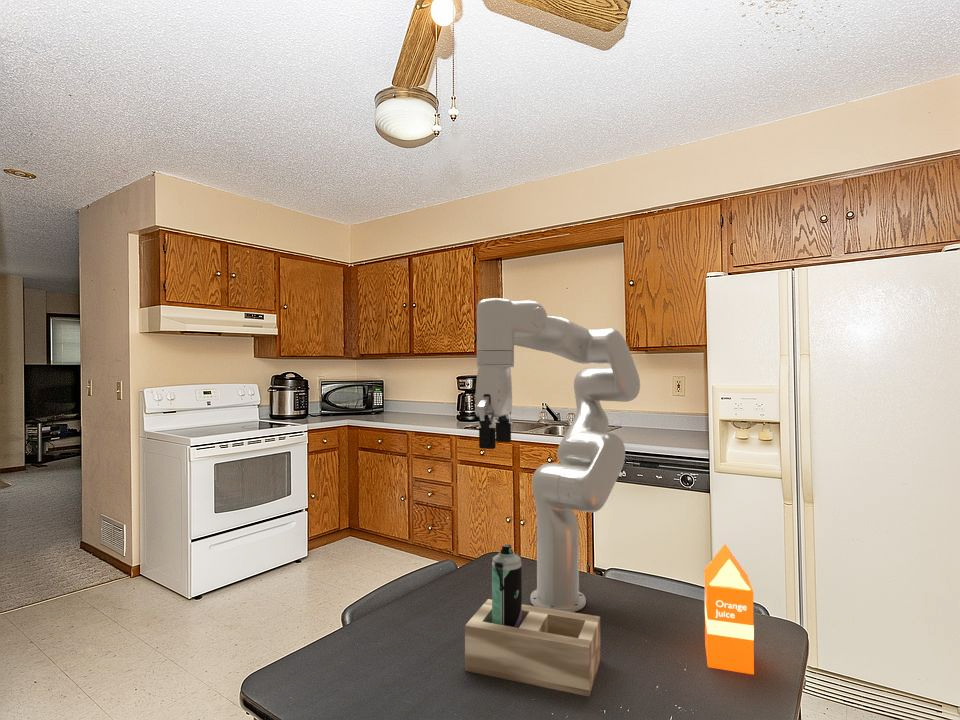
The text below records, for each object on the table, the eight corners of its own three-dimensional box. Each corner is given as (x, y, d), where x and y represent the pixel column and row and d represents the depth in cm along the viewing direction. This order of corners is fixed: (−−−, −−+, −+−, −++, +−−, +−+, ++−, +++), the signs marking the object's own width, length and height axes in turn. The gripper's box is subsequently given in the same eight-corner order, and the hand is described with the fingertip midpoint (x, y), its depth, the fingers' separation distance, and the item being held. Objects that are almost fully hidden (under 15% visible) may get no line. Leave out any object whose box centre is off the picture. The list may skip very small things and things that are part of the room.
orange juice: (748, 650, 106) (747, 545, 106) (754, 674, 97) (754, 560, 97) (704, 643, 108) (703, 540, 108) (706, 667, 100) (706, 555, 100)
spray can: (519, 663, 99) (519, 551, 100) (489, 660, 100) (489, 549, 101) (523, 648, 105) (523, 541, 105) (495, 645, 106) (494, 539, 106)
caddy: (488, 639, 110) (488, 598, 110) (600, 660, 102) (600, 616, 102) (465, 670, 99) (464, 625, 99) (589, 696, 91) (588, 647, 91)
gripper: (492, 360, 121) (492, 438, 121) (461, 360, 105) (461, 450, 105) (525, 360, 119) (525, 440, 119) (499, 359, 103) (499, 452, 102)
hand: (495, 445), depth 112 cm, fingers open, 9 cm apart
